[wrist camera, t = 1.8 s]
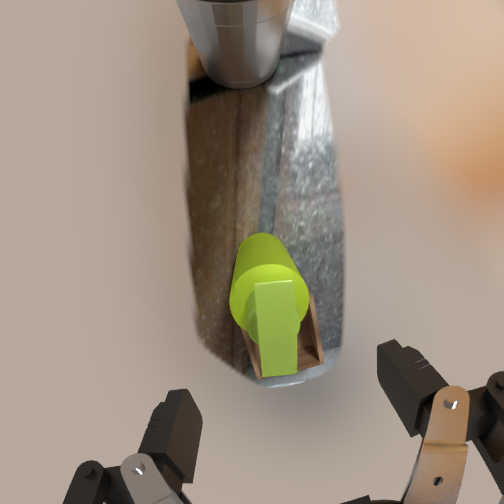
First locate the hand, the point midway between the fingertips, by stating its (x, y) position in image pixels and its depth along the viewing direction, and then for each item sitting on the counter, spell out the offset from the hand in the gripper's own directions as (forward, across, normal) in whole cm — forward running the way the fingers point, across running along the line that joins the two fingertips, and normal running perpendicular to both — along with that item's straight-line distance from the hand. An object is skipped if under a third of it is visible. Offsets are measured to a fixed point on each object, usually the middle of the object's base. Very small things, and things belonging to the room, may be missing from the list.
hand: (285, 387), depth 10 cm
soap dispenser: (+23, 0, 0) cm, 23 cm away
